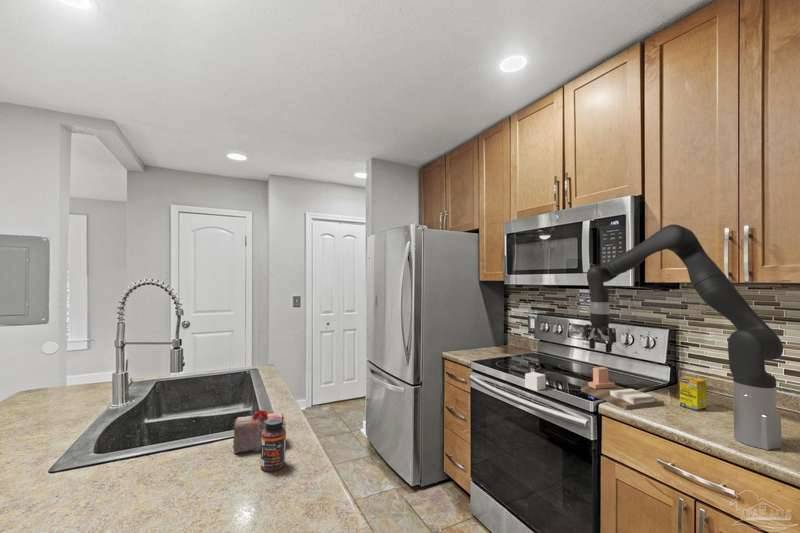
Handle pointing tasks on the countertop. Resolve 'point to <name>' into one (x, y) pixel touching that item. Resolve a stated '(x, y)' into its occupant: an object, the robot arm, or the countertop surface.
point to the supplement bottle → (273, 445)
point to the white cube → (535, 381)
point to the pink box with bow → (252, 430)
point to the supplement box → (693, 393)
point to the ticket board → (616, 400)
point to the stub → (600, 378)
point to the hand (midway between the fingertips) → (600, 350)
